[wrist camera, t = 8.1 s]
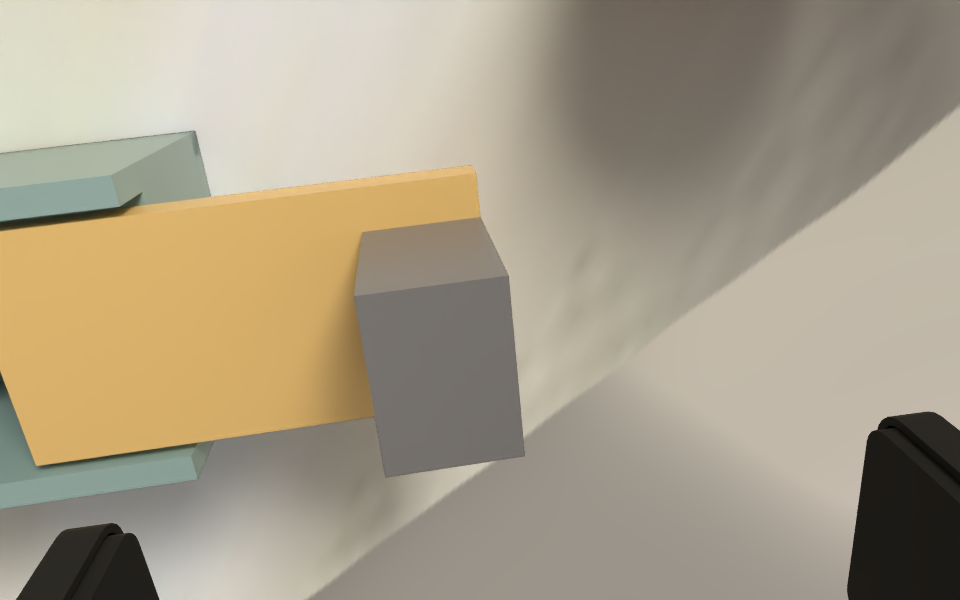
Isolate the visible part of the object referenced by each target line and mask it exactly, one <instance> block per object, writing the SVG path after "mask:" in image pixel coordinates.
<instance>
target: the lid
mask: <svg viewBox="0 0 960 600" xmlns="http://www.w3.org/2000/svg"><path fill="white" fill-rule="evenodd" d="M0 372H1V374H2V377H3V380H4V382H5V385H6V388H7V390H8V393H9V396H10V398H11V401H12V404H13V406H14V409H15V411H16V414H17V417H18V419H19V422H20V425H21V427H22V430H23V433H24V435H25V438H26V441H27V443H28V446H29V448H30V451H31V454H32V456H33V459H34V462H35V464H36V466H40V465H47V464H54V463H61V462H68V461H75V460H81V459H88V458H95V457H102V456H109V455H116V454H122V453H129V452H136V451H143V450H150V449H157V448H164V447H170V446H177V445H184V444H191V443H198V442H205V441H212V440H218V439H225V438H232V437H239V436H246V435H253V434H260V433H266V432H273V431H280V430H287V429H294V428H301V427H308V426H314V425H321V424H328V423H335V422H342V421H349V420H355V419H362V418H369V417H375V421H376V426H377V432H378V438H379V444H380V449H381V455H382V461H383V466H384V472H385V477H392V476H398V475H405V474H412V473H418V472H425V471H431V470H438V469H444V468H451V467H458V466H464V465H471V464H477V463H484V462H490V461H497V460H504V459H509V458H516V457H523V456H525V452H524V440H523V429H522V418H521V407H520V396H519V385H518V374H517V363H516V352H515V341H514V330H513V319H512V308H511V297H510V286H509V275H508V273H507V271H506V269H505V267H504V265H503V263H502V261H501V259H500V257H499V255H498V252H497V250H496V248H495V246H494V244H493V242H492V240H491V238H490V236H489V234H488V232H487V230H486V227H485V225H484V223H483V221H482V219H481V217H480V207H479V198H478V188H477V178H476V172H475V171H474V169H473V167H472V166H471V165H469V166H461V167H453V168H445V169H437V170H428V171H420V172H412V173H404V174H396V175H387V176H379V177H371V178H363V179H355V180H346V181H338V182H330V183H322V184H314V185H305V186H297V187H289V188H281V189H273V190H264V191H256V192H248V193H240V194H232V195H223V196H215V197H207V198H199V199H191V200H182V201H174V202H166V203H158V204H150V205H141V206H133V207H125V208H117V209H109V210H100V211H92V212H84V213H76V214H67V215H59V216H51V217H43V218H35V219H26V220H18V221H10V222H2V223H0Z"/></svg>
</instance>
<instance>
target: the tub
mask: <svg viewBox="0 0 960 600" xmlns="http://www.w3.org/2000/svg"><path fill="white" fill-rule="evenodd" d="M207 197H211V195H210V190H209V186H208V182H207V178H206V174H205V169H204V165H203V161H202V157H201V153H200V148H199V144H198V140H197V136H196V132H195V131H189V132H180V133H171V134H163V135H154V136H145V137H137V138H128V139H119V140H111V141H102V142H93V143H85V144H76V145H67V146H59V147H50V148H41V149H33V150H24V151H15V152H6V153H0V223H2V222H10V221H18V220H26V219H35V218H43V217H51V216H59V215H67V214H76V213H84V212H92V211H100V210H109V209H117V208H125V207H133V206H141V205H150V204H158V203H166V202H174V201H182V200H191V199H199V198H207ZM213 442H214V440H212V441H205V442H198V443H191V444H184V445H177V446H170V447H164V448H157V449H150V450H143V451H136V452H129V453H122V454H116V455H109V456H102V457H95V458H88V459H81V460H75V461H68V462H61V463H54V464H47V465H40V466H36V464H35V462H34V459H33V456H32V454H31V451H30V448H29V446H28V443H27V441H26V438H25V435H24V433H23V430H22V427H21V425H20V422H19V419H18V417H17V414H16V411H15V409H14V406H13V404H12V401H11V398H10V396H9V393H8V390H7V388H6V385H5V382H4V380H3V377H2V374H1V372H0V509H3V508H10V507H17V506H23V505H30V504H37V503H43V502H50V501H57V500H63V499H70V498H77V497H83V496H90V495H97V494H104V493H110V492H117V491H124V490H130V489H137V488H144V487H150V486H157V485H164V484H170V483H177V482H184V481H190V480H197V479H198V477H199V475H200V473H201V470H202V468H203V466H204V463H205V461H206V459H207V456H208V454H209V452H210V449H211V447H212V445H213Z"/></svg>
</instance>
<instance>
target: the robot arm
mask: <svg viewBox="0 0 960 600" xmlns="http://www.w3.org/2000/svg"><path fill="white" fill-rule="evenodd" d="M847 593H848V599H849V600H960V431H959V430H958V429H957V428H956V427H954V426H953V425H952V424H950V423H949V422H948V421H947V420H945V419H944V418H943V417H942V416H940V415H938V414H936V413H934V412H921V413H914V414H906V415H899V416H892V417H887V418H885V419H883V420H882V421H881V423H880V424H879V426H878V430H875V431H872V432H871V433H870V434H869V436H868V440H867V445H866V453H865V460H864V467H863V475H862V482H861V489H860V497H859V505H858V511H857V519H856V526H855V534H854V541H853V548H852V556H851V563H850V571H849V578H848V585H847ZM16 600H159V597H158V595H157V592H156V589H155V586H154V583H153V581H152V578H151V575H150V572H149V569H148V567H147V564H146V561H145V558H144V555H143V553H142V550H141V547H140V544H139V542H138V540H137V538H136V536H135V535H134V534H132V533H125V534H124V533H123V531H122V529H121V528H120V527H119V526H118V525H117V524H113V523H109V524H102V525H95V526H87V527H80V528H73V529H67V530H65V531H62V532H61V533H60V534H59V535H58V537H57V538H56V539H55V541H54V542H53V544H52V545H51V547H50V548H49V550H48V551H47V553H46V554H45V556H44V558H43V559H42V561H41V562H40V564H39V565H38V567H37V568H36V570H35V571H34V573H33V574H32V576H31V578H30V579H29V581H28V582H27V584H26V585H25V587H24V588H23V590H22V591H21V593H20V594H19V596H18V598H17V599H16Z"/></svg>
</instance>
